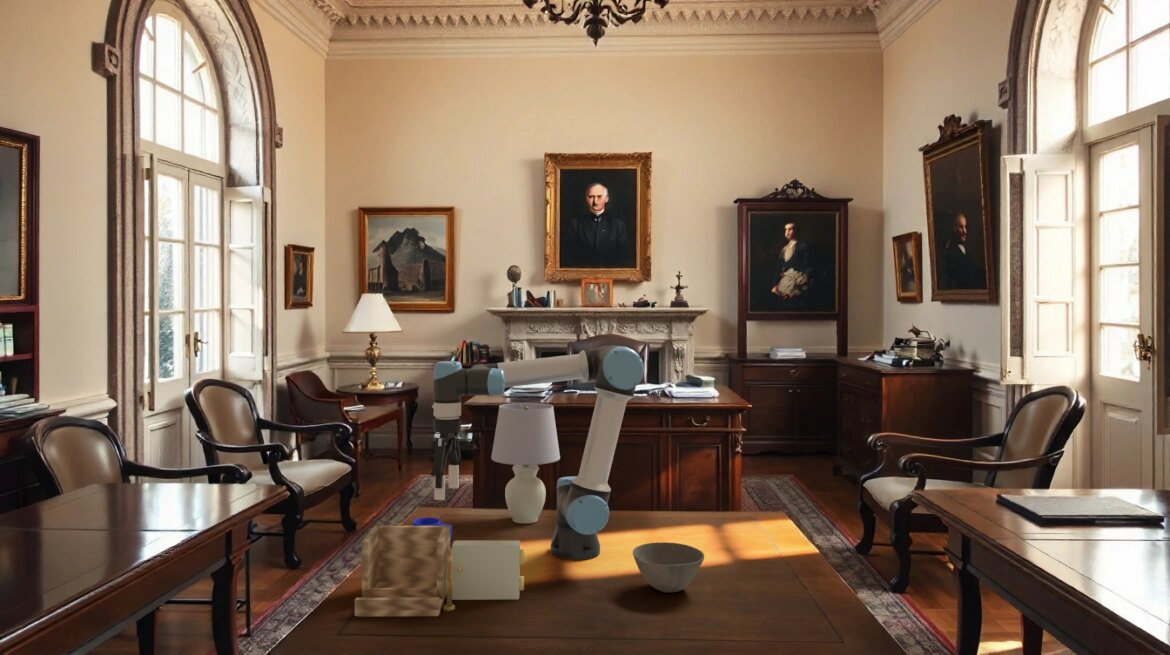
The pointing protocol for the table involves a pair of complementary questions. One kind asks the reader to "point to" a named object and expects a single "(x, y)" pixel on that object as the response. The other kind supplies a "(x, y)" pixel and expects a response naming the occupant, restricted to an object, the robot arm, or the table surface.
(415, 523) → the mug
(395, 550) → the cabinet
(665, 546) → the bowl
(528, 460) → the lamp
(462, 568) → the door
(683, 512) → the table surface
